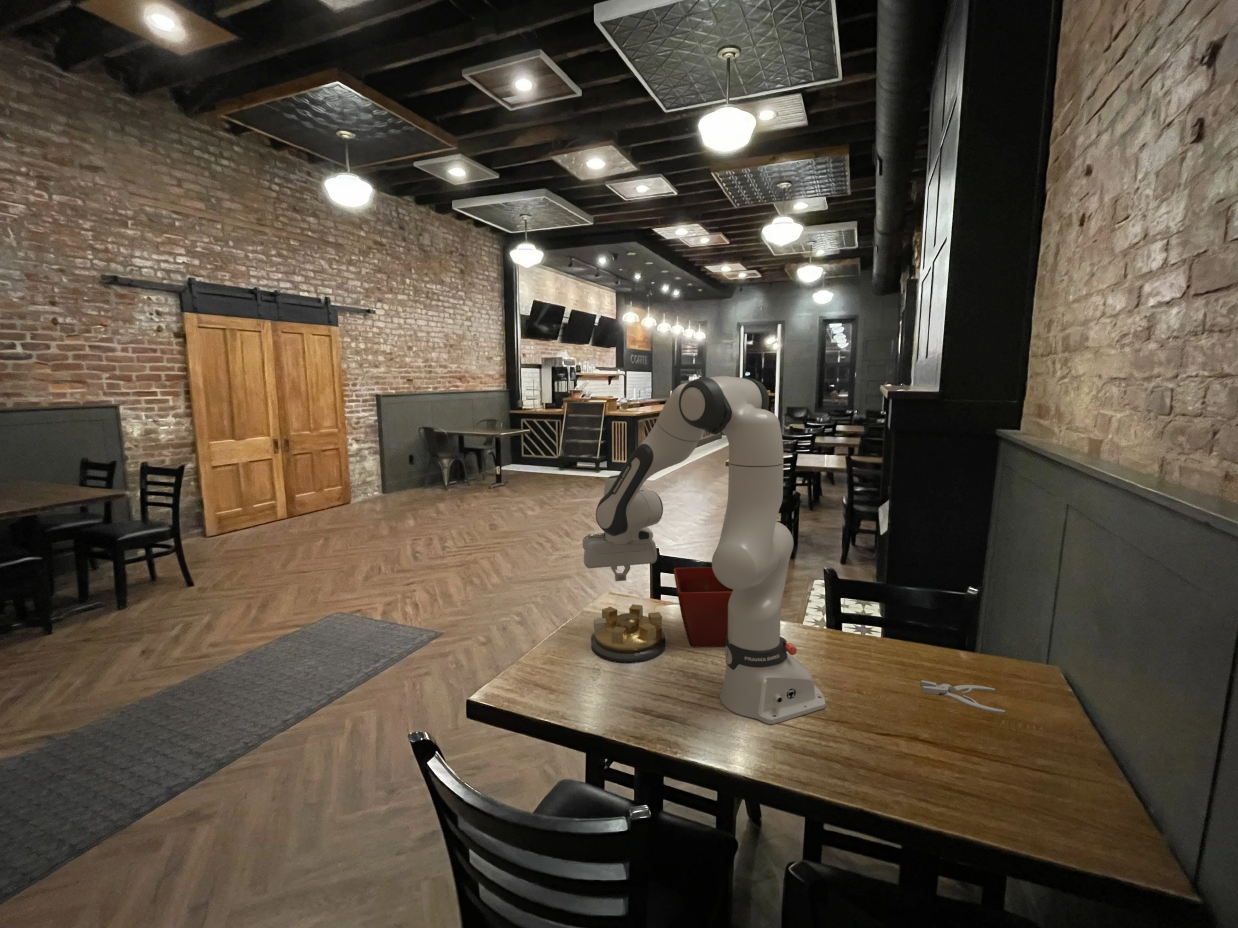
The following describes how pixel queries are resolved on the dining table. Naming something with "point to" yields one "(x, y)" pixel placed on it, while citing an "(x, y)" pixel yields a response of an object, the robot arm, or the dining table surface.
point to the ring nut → (628, 630)
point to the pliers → (943, 689)
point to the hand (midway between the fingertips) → (620, 580)
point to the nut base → (628, 656)
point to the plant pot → (703, 606)
